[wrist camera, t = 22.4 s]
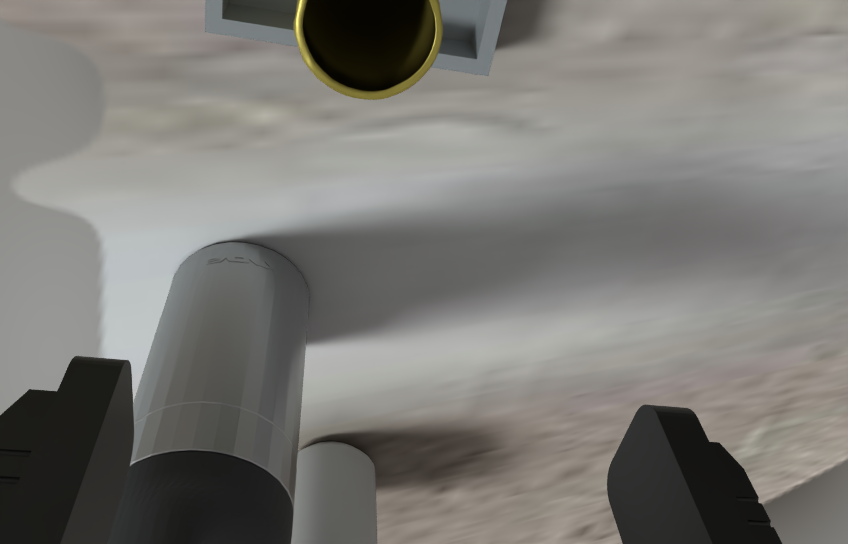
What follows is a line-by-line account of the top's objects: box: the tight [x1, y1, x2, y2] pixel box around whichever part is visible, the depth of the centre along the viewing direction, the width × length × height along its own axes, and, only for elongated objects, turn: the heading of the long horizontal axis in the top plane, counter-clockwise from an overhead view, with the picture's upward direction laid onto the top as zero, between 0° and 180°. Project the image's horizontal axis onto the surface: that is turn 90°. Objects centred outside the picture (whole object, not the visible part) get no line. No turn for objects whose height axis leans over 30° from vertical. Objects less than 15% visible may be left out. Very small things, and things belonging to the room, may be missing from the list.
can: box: [291, 441, 377, 544], centre depth 58 cm, size 8×8×12 cm
